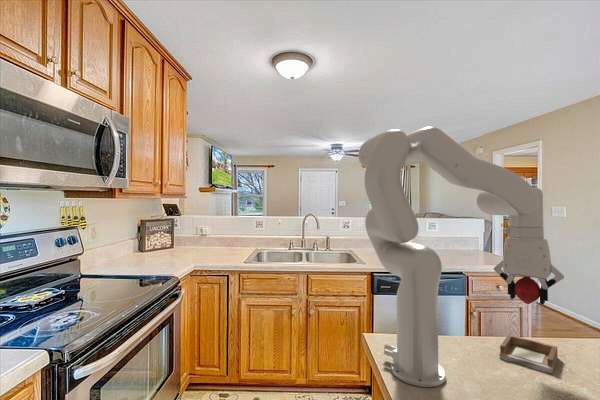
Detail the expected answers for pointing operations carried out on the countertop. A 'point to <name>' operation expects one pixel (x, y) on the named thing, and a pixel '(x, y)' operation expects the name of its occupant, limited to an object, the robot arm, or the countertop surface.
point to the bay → (529, 353)
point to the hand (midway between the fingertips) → (527, 299)
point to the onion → (527, 290)
